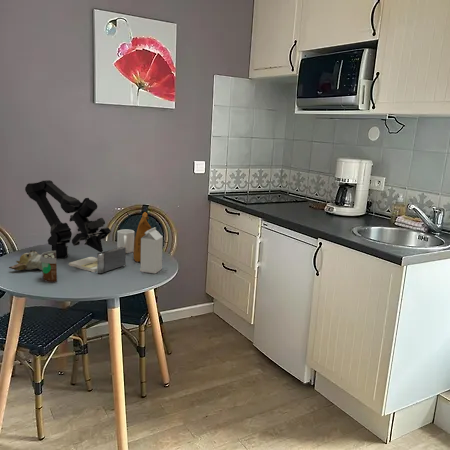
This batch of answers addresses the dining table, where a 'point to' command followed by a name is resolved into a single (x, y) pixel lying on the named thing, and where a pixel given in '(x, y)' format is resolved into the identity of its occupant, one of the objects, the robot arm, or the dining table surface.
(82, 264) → the label board
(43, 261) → the food container
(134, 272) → the dining table surface
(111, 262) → the swing panel
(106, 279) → the dining table surface
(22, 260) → the ceramic sculpture
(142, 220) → the coffee package
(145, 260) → the milk carton
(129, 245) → the mug
